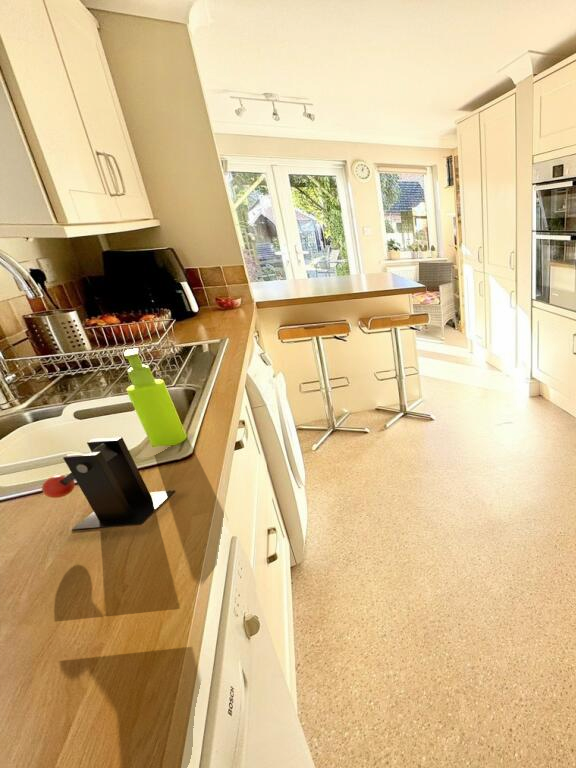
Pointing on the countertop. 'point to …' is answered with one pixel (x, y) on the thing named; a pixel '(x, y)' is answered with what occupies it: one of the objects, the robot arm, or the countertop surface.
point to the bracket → (113, 487)
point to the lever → (70, 477)
